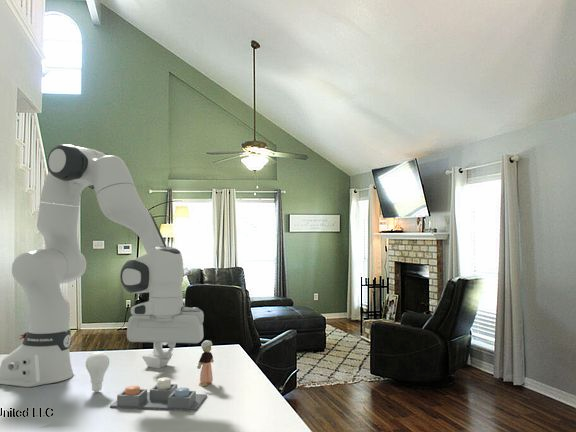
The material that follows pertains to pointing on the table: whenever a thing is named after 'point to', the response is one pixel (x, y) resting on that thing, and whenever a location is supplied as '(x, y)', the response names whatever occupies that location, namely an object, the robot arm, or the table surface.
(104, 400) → the table surface
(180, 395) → the slate button
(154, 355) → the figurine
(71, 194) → the robot arm
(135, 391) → the rust button
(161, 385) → the cream button
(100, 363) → the lightbulb
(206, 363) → the grandmother figurine
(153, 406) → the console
